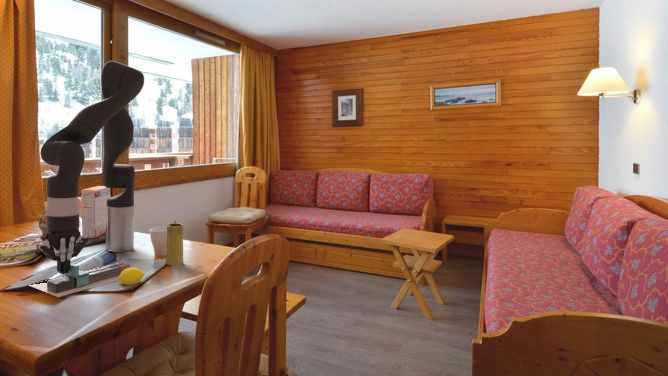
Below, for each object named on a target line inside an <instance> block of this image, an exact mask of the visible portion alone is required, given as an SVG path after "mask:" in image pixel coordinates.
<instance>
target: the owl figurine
mask: <svg viewBox="0 0 668 376" xmlns="http://www.w3.org/2000/svg"><path fill="white" fill-rule="evenodd" d="M46 210H47V206H46V207H45V208H44V210H43V211H42V214H41V215H40V216H39V218H38V228H39V229H40V231H41V236H40V237H39V238H40V239H41V240H42V242H44V241H45V240H46V236H47V233H48V232H47V213H46ZM75 244H76V243H75ZM75 244H74V245H75ZM49 245H50V244H49ZM49 249H50V250H51V251H52V252H53V253H54V254H55V252H54V248H53V247H52V246H51V245H50V248H49ZM35 252H37V253H36V254H37V255H45V254H44V253H42V252H41V251H40V250H39V249H38V248H37V247H36V248H35Z"/></svg>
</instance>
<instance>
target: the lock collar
mask: <svg viewBox="0 0 668 376" xmlns="http://www.w3.org/2000/svg"><path fill="white" fill-rule="evenodd" d="M70 267H71V269H70V271H69V273H66V274H65V276H71V277H74V278H77V287H79V286H83V285H86V284H89V273H87V272H84V271H85V270H84V271H83V270H80V265H79V264H74V263H72V262H70Z"/></svg>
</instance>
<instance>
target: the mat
mask: <svg viewBox="0 0 668 376" xmlns="http://www.w3.org/2000/svg"><path fill="white" fill-rule="evenodd" d="M113 264H114V263H113ZM113 264H112V263H111V264H108V265H103V266H102V267H105V266H109V265H113ZM119 276H120V275H117V276H113V277H110V278H106V279H102V280H99V281H95V282H92V283H89V284H86V285H83V286H79V287H77V285H75V289H71V290H67V291H64V292H60V293H57V294H56V293H53V292H51V291H48V290H47V283H40V284H35V283H32V284H33V285H31V284H28V286H29V287H31V288H34V289H37V290H39V291H42V292H45V293H46V294H49V295H51V296H54V297H56V298H61V297H64V296H68V295H71V294H75V293H79V292H81V291H84V290H88V289H92V288H95V287H99V286H102V285H105V284H106V285H107V284H110V283H113V282H115V281H120V280H119Z"/></svg>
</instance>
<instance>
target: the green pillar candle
mask: <svg viewBox="0 0 668 376" xmlns="http://www.w3.org/2000/svg"><path fill="white" fill-rule="evenodd" d="M165 265H168V266H183V265H184V225H183V223H178V222H177V223H176V222H175V223H167V224H166V253H165Z"/></svg>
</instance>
